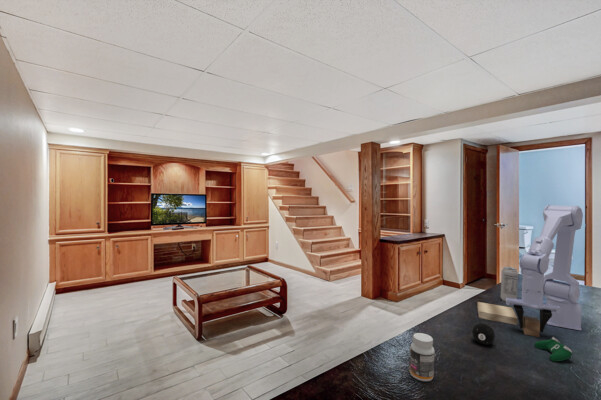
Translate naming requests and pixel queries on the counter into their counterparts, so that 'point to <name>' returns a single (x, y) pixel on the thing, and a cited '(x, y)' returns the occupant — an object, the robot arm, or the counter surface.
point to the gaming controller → (555, 349)
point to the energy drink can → (509, 283)
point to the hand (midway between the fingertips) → (530, 329)
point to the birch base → (496, 313)
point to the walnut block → (531, 326)
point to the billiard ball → (483, 333)
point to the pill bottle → (422, 357)
